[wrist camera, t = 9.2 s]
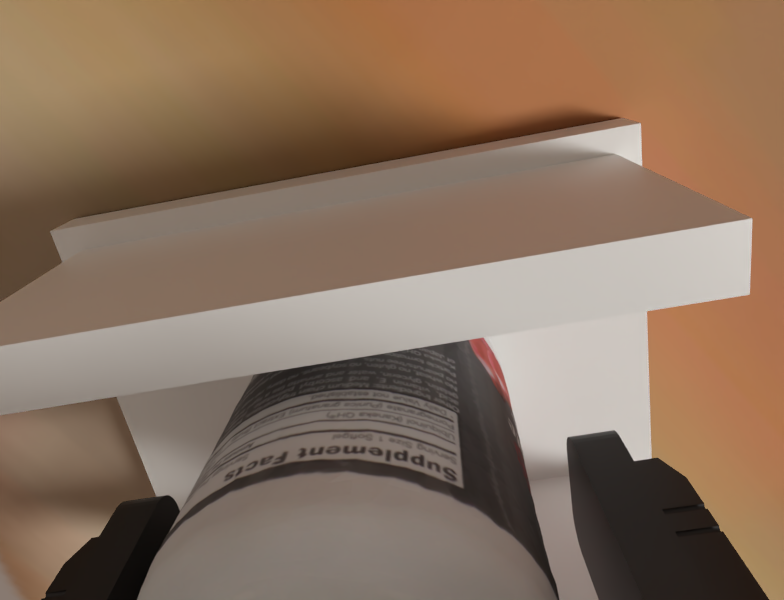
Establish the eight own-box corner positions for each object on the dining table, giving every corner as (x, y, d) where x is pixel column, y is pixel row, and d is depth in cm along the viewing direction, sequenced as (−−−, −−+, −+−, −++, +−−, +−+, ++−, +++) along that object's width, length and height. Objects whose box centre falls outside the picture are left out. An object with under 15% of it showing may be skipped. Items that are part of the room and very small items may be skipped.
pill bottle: (507, 480, 15) (636, 1174, 6) (285, 488, 15) (74, 1142, 6) (501, 264, 13) (685, 804, 4) (246, 282, 13) (-158, 800, 4)
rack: (73, 218, 14) (-148, 334, 8) (622, 117, 13) (797, 169, 7) (268, 727, 20) (219, 989, 14) (646, 682, 19) (750, 943, 13)
